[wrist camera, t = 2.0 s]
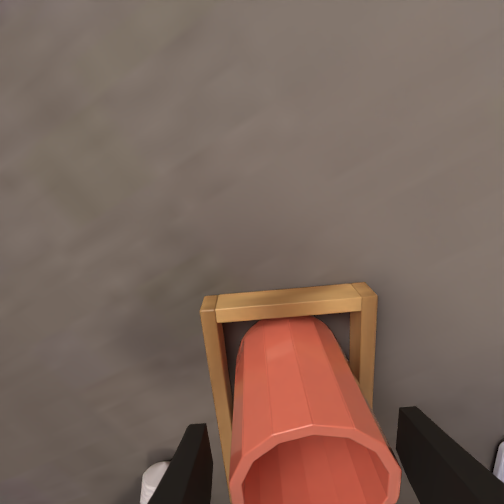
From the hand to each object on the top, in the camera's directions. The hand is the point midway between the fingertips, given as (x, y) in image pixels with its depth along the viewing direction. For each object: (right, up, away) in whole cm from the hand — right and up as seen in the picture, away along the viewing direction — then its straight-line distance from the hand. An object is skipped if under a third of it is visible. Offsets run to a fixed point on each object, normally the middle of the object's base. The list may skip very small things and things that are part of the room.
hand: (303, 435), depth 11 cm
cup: (0, +1, +4) cm, 5 cm away
